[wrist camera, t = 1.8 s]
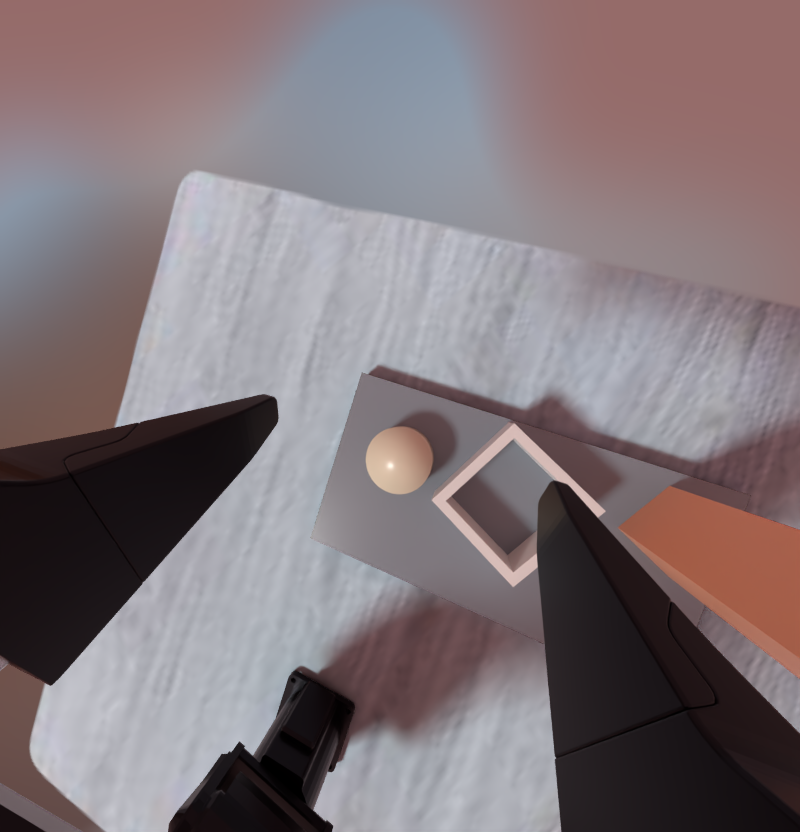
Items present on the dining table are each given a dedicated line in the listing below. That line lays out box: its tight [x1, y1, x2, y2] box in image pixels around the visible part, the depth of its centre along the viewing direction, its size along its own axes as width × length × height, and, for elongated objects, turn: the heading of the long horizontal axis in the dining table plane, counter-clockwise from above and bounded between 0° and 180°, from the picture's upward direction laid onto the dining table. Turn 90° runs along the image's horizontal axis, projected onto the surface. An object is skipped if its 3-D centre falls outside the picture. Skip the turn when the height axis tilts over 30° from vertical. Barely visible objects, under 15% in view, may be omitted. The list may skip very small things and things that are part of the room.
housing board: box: [311, 373, 751, 644], centre depth 22 cm, size 15×28×4 cm, turn 72°
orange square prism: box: [618, 486, 800, 679], centre depth 14 cm, size 4×4×13 cm
